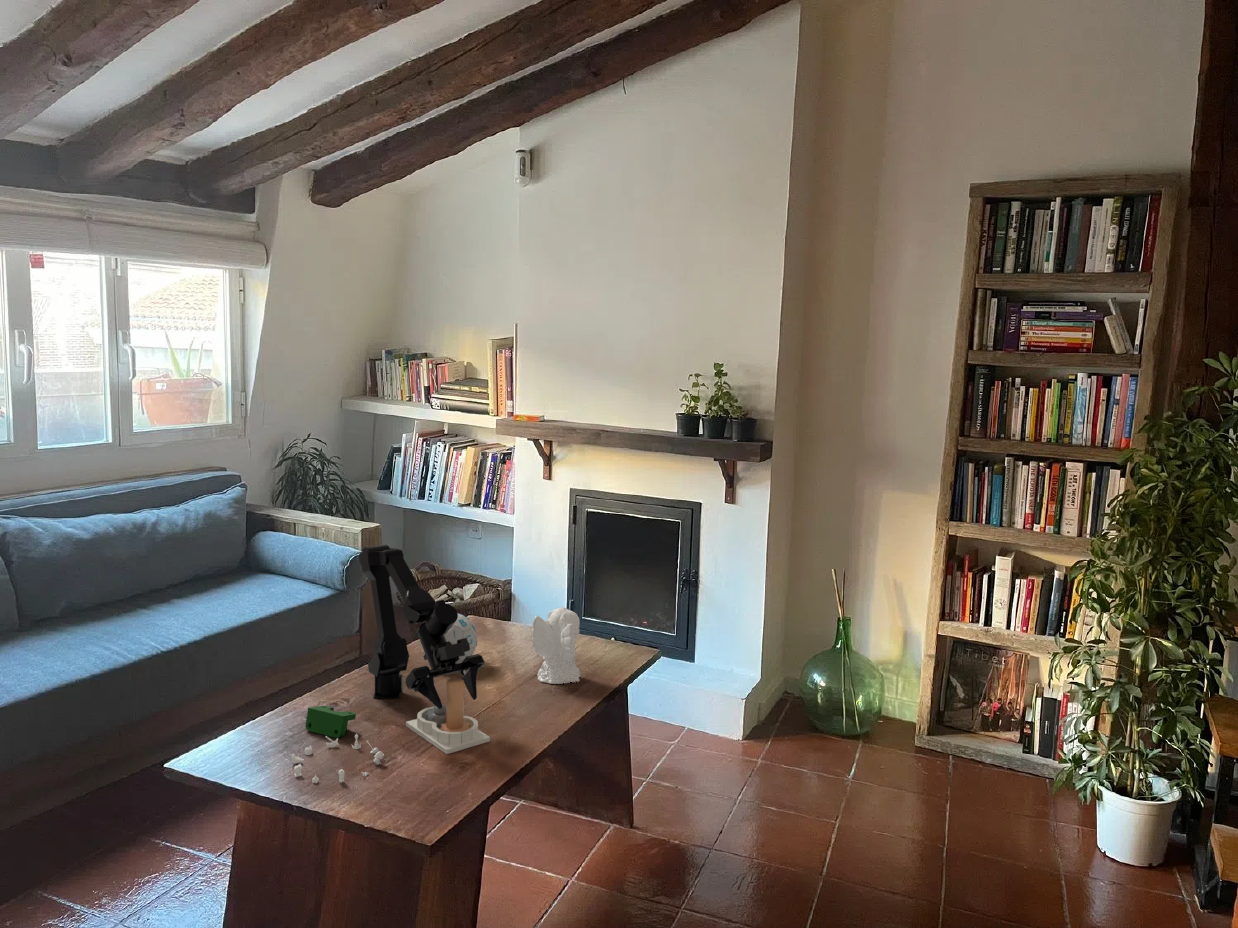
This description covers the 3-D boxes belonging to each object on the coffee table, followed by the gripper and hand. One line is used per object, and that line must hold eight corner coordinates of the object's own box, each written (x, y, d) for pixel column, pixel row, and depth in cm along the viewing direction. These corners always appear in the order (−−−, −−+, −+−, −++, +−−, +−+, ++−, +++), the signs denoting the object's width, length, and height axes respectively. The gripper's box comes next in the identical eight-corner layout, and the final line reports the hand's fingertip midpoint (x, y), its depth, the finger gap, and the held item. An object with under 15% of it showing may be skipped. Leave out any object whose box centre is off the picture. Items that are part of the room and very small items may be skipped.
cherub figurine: (591, 676, 264) (594, 607, 262) (572, 691, 253) (574, 619, 250) (549, 668, 269) (551, 600, 267) (529, 683, 258) (530, 612, 255)
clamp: (346, 747, 224) (362, 717, 223) (331, 750, 219) (347, 720, 218) (315, 720, 228) (331, 690, 228) (299, 723, 223) (316, 693, 223)
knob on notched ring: (435, 738, 219) (435, 684, 217) (447, 726, 226) (448, 674, 224) (462, 742, 217) (462, 688, 216) (473, 730, 224) (474, 678, 222)
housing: (405, 725, 228) (405, 703, 227) (447, 714, 235) (448, 693, 234) (446, 754, 213) (446, 730, 212) (489, 741, 221) (490, 718, 220)
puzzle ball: (451, 651, 281) (451, 603, 279) (488, 663, 272) (489, 613, 270) (412, 665, 268) (413, 614, 266) (449, 677, 260) (450, 625, 258)
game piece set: (397, 751, 214) (397, 735, 214) (354, 792, 195) (354, 774, 195) (320, 740, 219) (320, 725, 218) (270, 779, 199) (270, 762, 199)
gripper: (411, 635, 215) (435, 696, 208) (481, 621, 227) (506, 679, 220) (395, 658, 222) (417, 718, 215) (463, 644, 234) (487, 700, 227)
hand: (458, 703), depth 219 cm, fingers open, 9 cm apart
